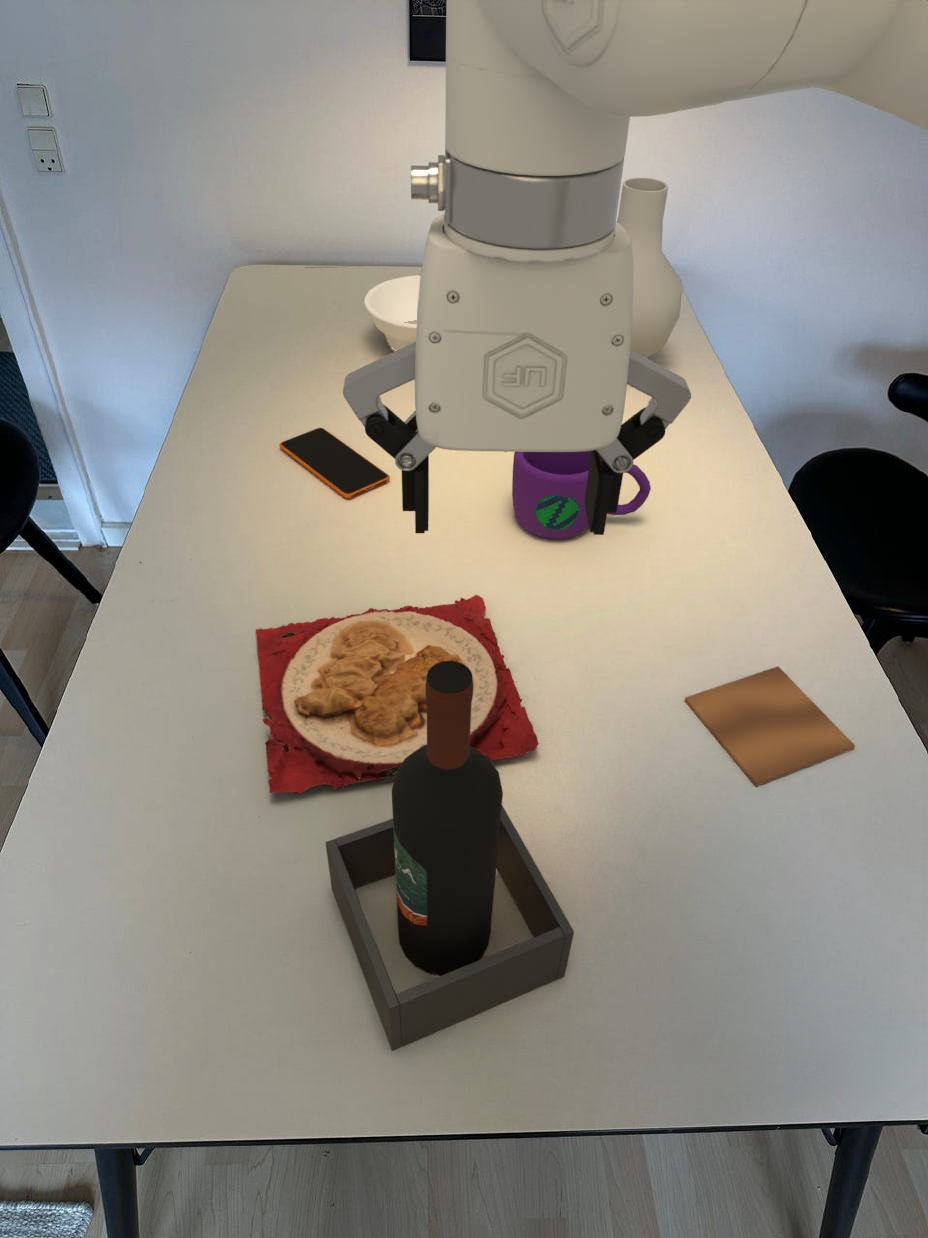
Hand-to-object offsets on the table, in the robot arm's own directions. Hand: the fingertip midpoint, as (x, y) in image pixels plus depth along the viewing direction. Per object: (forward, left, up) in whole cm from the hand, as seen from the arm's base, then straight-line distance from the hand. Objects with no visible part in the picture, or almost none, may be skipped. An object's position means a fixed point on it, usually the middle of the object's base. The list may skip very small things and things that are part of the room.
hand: (508, 519), depth 50 cm
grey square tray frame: (-2, +4, -39) cm, 39 cm away
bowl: (+97, -35, -39) cm, 110 cm away
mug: (+44, -34, -39) cm, 68 cm away
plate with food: (+25, -1, -39) cm, 46 cm away
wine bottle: (-2, +4, -39) cm, 39 cm away
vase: (+80, -62, -39) cm, 108 cm away
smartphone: (+68, -9, -39) cm, 79 cm away
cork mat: (+6, -35, -39) cm, 53 cm away
